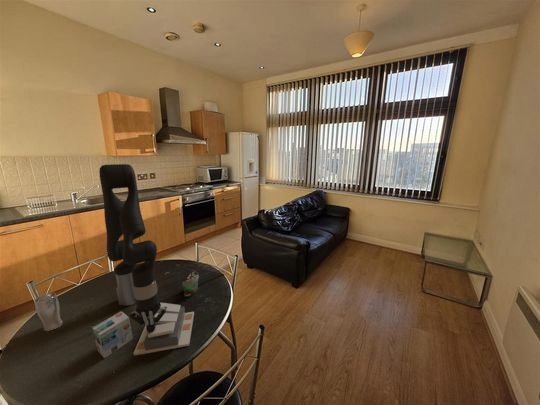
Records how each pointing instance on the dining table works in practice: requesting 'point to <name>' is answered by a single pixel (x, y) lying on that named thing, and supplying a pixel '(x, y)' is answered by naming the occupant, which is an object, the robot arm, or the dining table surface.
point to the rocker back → (171, 308)
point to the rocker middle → (168, 318)
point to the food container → (191, 284)
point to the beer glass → (48, 311)
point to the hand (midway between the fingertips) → (151, 330)
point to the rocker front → (162, 329)
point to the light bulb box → (112, 334)
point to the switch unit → (167, 336)
